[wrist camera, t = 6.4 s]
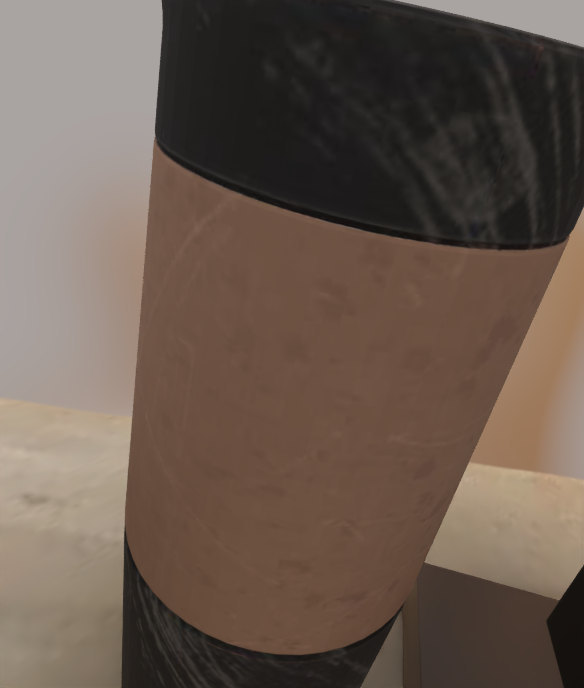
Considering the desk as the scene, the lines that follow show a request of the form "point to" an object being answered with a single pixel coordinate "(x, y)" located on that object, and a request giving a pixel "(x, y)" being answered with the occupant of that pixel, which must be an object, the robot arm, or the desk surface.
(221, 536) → the travel mug
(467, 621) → the shelf
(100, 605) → the desk surface
